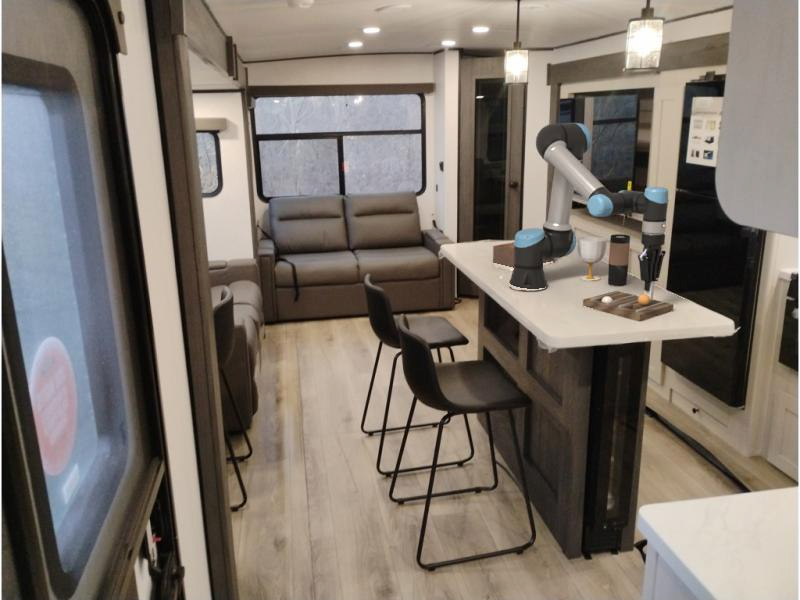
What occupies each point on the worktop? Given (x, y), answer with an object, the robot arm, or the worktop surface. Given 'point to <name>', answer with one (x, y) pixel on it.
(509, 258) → the tissue box cover
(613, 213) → the robot arm
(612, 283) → the travel mug
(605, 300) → the cream ball
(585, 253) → the cup
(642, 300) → the orange ball
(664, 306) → the hole deck
